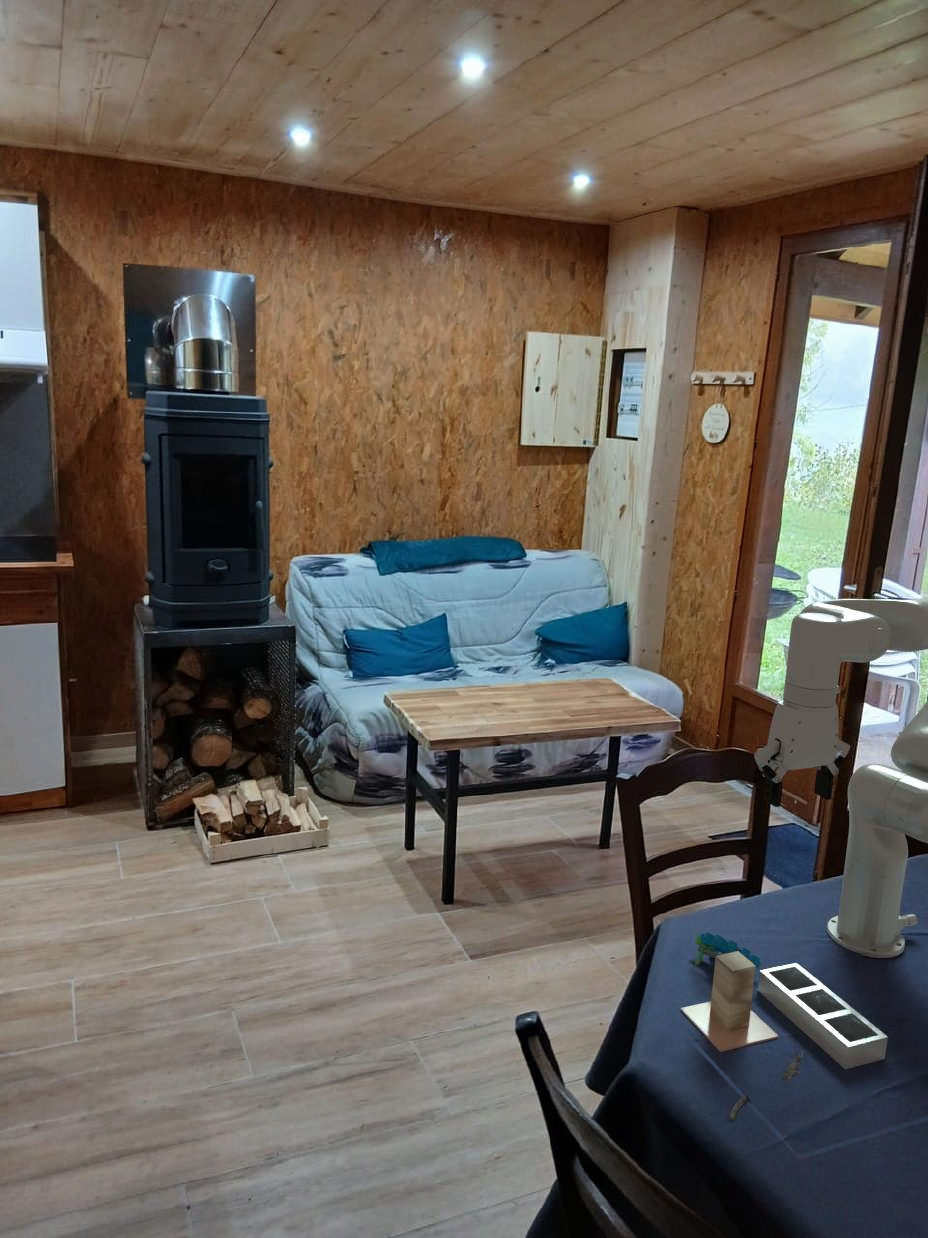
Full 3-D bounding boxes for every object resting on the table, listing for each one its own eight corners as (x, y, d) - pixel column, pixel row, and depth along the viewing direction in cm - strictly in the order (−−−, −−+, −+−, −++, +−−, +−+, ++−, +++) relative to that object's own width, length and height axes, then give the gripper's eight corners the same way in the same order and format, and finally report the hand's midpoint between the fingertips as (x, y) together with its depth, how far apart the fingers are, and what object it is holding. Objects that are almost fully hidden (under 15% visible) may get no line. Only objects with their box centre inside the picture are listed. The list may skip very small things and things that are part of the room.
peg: (731, 1011, 141) (738, 951, 139) (748, 1027, 138) (755, 965, 136) (709, 1016, 140) (715, 956, 138) (726, 1032, 136) (732, 971, 134)
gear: (772, 967, 152) (747, 940, 146) (758, 1002, 149) (733, 976, 144) (713, 946, 160) (687, 920, 154) (699, 979, 158) (673, 953, 152)
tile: (735, 1000, 145) (736, 996, 145) (777, 1040, 136) (778, 1036, 136) (680, 1013, 142) (680, 1008, 142) (720, 1055, 133) (720, 1050, 132)
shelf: (793, 985, 150) (796, 963, 149) (884, 1062, 132) (887, 1037, 132) (757, 993, 147) (760, 970, 146) (844, 1072, 130) (848, 1047, 129)
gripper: (837, 684, 149) (824, 785, 153) (747, 692, 143) (736, 797, 147) (872, 697, 142) (858, 803, 146) (779, 706, 136) (767, 816, 140)
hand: (797, 800), depth 146 cm, fingers open, 9 cm apart
